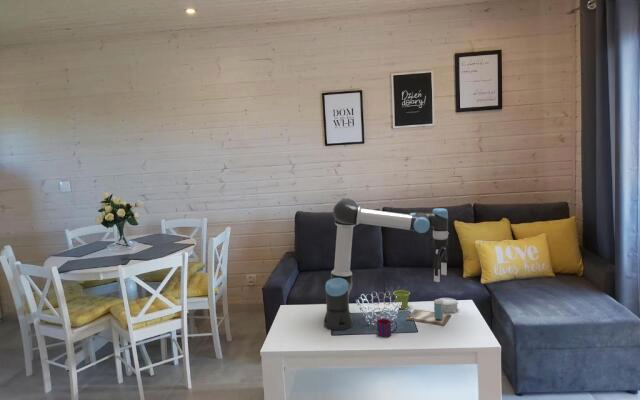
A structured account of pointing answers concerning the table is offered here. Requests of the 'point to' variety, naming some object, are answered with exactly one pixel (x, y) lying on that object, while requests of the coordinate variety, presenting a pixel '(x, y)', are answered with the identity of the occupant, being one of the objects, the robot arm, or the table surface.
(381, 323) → the mug
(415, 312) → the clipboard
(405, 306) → the plant pot
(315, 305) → the table surface
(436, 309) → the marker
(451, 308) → the ramekin
